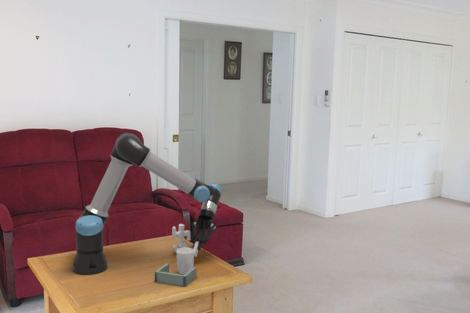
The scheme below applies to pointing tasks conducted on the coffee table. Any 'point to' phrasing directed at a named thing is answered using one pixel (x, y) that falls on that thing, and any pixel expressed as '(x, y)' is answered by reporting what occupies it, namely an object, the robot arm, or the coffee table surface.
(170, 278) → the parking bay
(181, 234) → the figurine
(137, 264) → the coffee table surface
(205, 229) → the robot arm
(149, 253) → the coffee table surface
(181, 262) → the white cup
